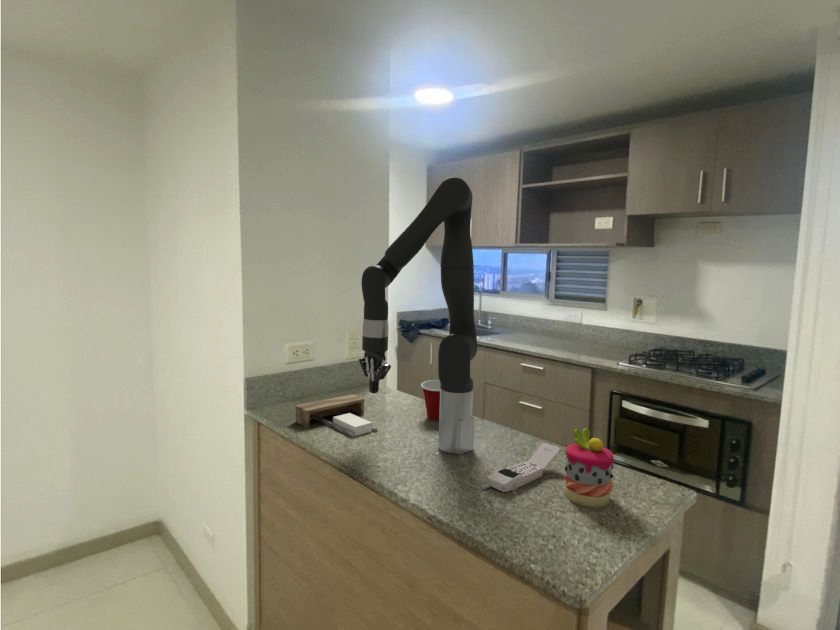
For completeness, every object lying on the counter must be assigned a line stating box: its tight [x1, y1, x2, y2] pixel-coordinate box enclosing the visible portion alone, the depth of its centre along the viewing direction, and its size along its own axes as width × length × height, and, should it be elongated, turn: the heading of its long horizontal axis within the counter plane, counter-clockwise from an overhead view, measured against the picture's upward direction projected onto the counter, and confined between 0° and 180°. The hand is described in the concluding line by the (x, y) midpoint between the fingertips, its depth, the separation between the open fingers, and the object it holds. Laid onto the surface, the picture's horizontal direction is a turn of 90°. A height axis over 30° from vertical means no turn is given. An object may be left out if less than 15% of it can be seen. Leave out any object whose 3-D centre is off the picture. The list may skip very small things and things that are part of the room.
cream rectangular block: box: [332, 412, 373, 437], centre depth 148 cm, size 12×6×3 cm, turn 43°
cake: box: [562, 427, 615, 508], centre depth 107 cm, size 10×10×15 cm
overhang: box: [295, 393, 378, 439], centre depth 151 cm, size 23×22×6 cm
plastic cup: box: [420, 379, 440, 421], centre depth 160 cm, size 11×11×12 cm
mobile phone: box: [481, 441, 561, 493], centre depth 116 cm, size 6×6×25 cm
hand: (373, 392), depth 139 cm, fingers closed
